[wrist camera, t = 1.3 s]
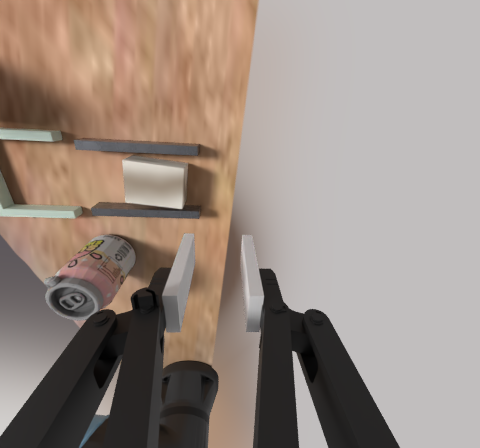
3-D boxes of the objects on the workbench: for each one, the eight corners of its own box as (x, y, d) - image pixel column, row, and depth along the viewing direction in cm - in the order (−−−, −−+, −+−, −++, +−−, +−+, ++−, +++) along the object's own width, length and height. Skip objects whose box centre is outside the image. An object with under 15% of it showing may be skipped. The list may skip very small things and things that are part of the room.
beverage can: (108, 280, 43) (68, 336, 32) (73, 247, 39) (16, 298, 29) (147, 259, 41) (119, 311, 30) (114, 223, 38) (70, 268, 27)
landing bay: (82, 213, 37) (75, 218, 35) (9, 210, 36) (-3, 216, 34) (60, 130, 31) (50, 131, 29) (-28, 125, 30) (-44, 126, 29)
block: (186, 199, 37) (182, 209, 33) (135, 193, 36) (125, 202, 32) (188, 162, 34) (183, 168, 31) (133, 154, 33) (122, 160, 30)
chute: (200, 212, 38) (199, 218, 35) (101, 209, 36) (92, 215, 34) (199, 144, 33) (197, 146, 31) (84, 138, 32) (73, 140, 29)
